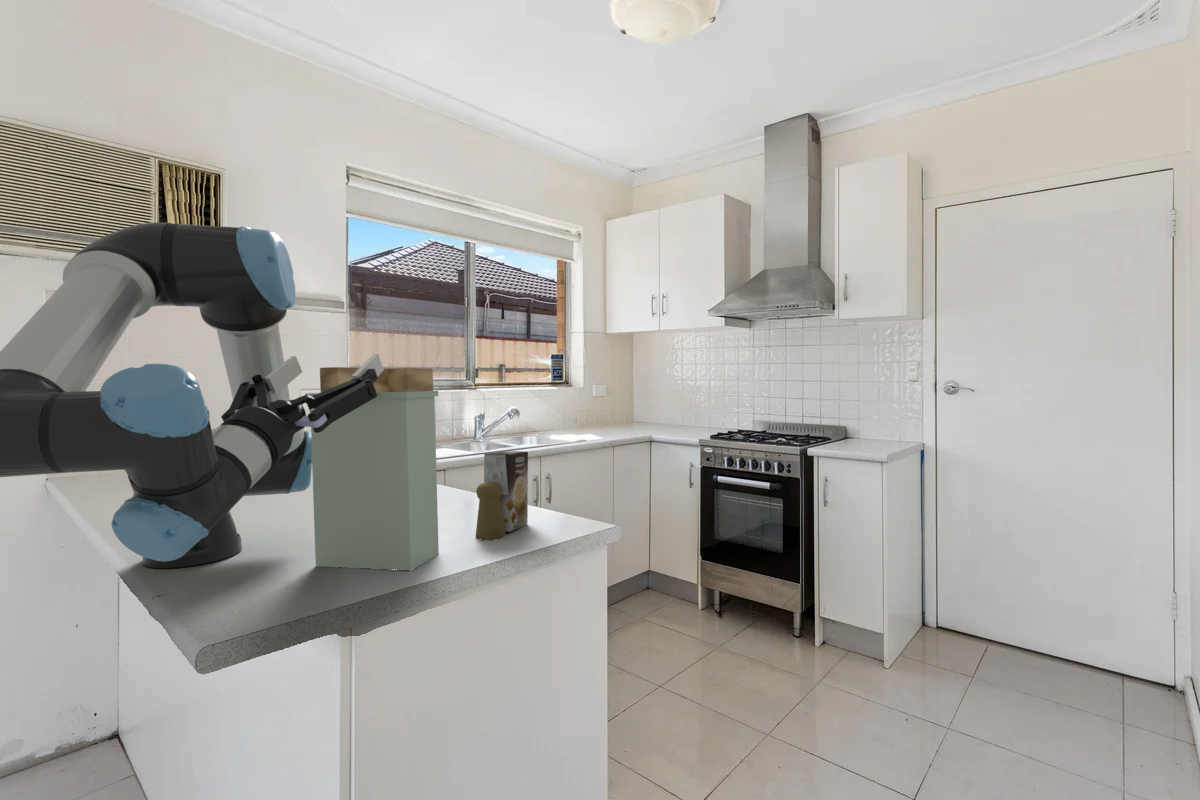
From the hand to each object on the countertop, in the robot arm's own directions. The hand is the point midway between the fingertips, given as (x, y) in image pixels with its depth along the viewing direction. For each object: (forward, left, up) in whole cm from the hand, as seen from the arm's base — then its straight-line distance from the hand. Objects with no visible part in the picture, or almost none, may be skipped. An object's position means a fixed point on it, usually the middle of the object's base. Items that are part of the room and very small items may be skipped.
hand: (337, 362), depth 89 cm
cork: (+10, +33, -35) cm, 49 cm away
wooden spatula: (0, +11, -5) cm, 12 cm away
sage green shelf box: (-4, +16, -35) cm, 38 cm away
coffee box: (+11, +40, -35) cm, 54 cm away
